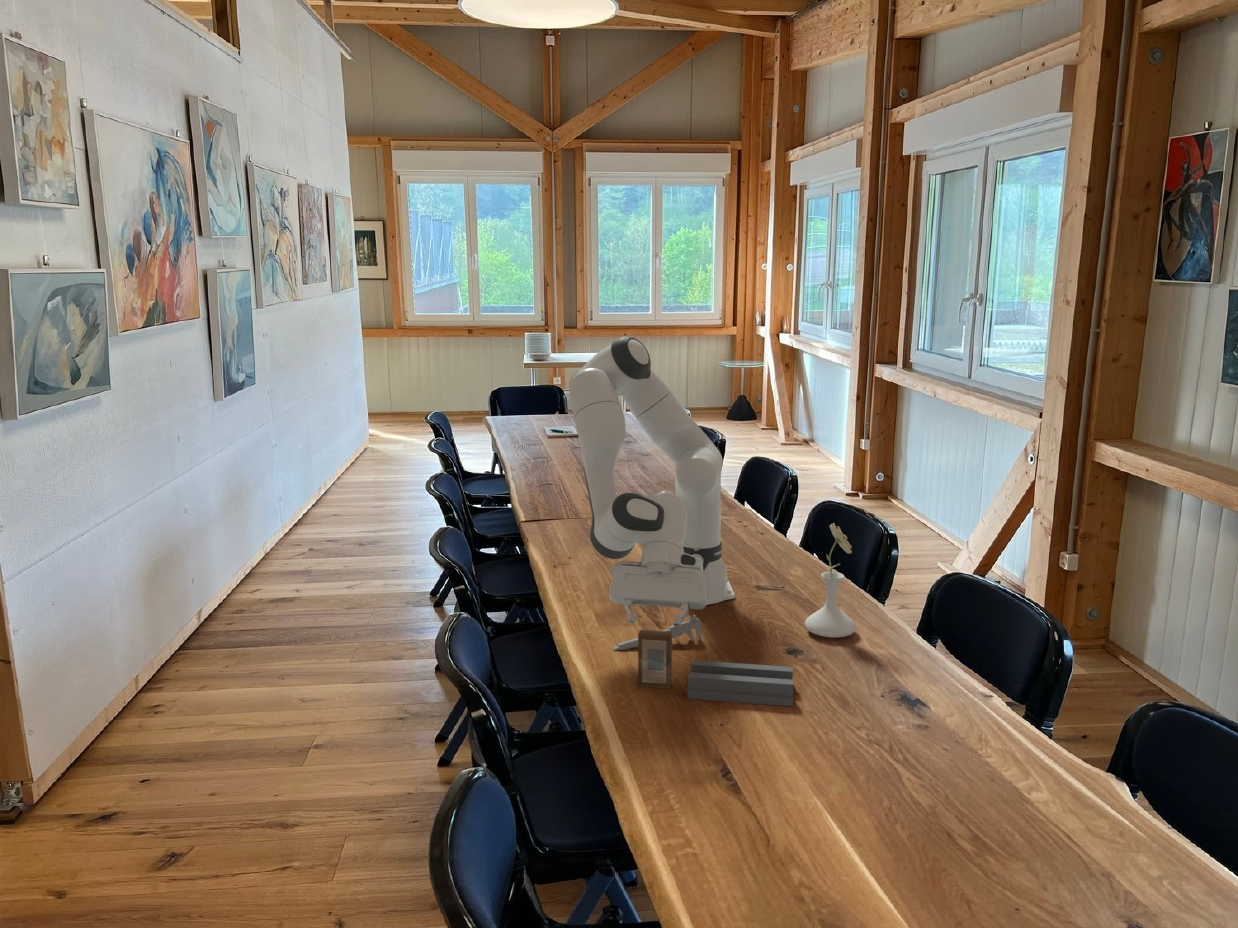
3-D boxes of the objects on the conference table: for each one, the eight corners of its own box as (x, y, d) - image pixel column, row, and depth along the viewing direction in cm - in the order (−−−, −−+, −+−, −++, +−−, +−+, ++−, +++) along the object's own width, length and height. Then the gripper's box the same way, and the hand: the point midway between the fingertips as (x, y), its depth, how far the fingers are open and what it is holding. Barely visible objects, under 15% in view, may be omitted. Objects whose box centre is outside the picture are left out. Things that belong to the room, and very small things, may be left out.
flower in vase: (856, 644, 200) (862, 535, 195) (804, 640, 202) (809, 532, 197) (853, 622, 212) (859, 519, 207) (804, 618, 214) (808, 517, 209)
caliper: (699, 639, 203) (699, 613, 202) (701, 641, 202) (701, 614, 201) (612, 650, 198) (612, 623, 196) (613, 652, 197) (613, 625, 195)
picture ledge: (692, 676, 184) (692, 657, 183) (791, 683, 181) (792, 664, 180) (687, 698, 174) (687, 679, 174) (792, 706, 171) (793, 686, 170)
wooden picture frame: (639, 680, 182) (640, 629, 180) (671, 683, 181) (671, 631, 179) (638, 686, 180) (638, 634, 177) (669, 688, 178) (670, 636, 176)
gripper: (611, 553, 190) (601, 614, 182) (708, 559, 186) (703, 621, 179) (615, 567, 195) (606, 626, 187) (709, 573, 191) (704, 634, 184)
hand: (654, 624), depth 183 cm, fingers open, 8 cm apart
